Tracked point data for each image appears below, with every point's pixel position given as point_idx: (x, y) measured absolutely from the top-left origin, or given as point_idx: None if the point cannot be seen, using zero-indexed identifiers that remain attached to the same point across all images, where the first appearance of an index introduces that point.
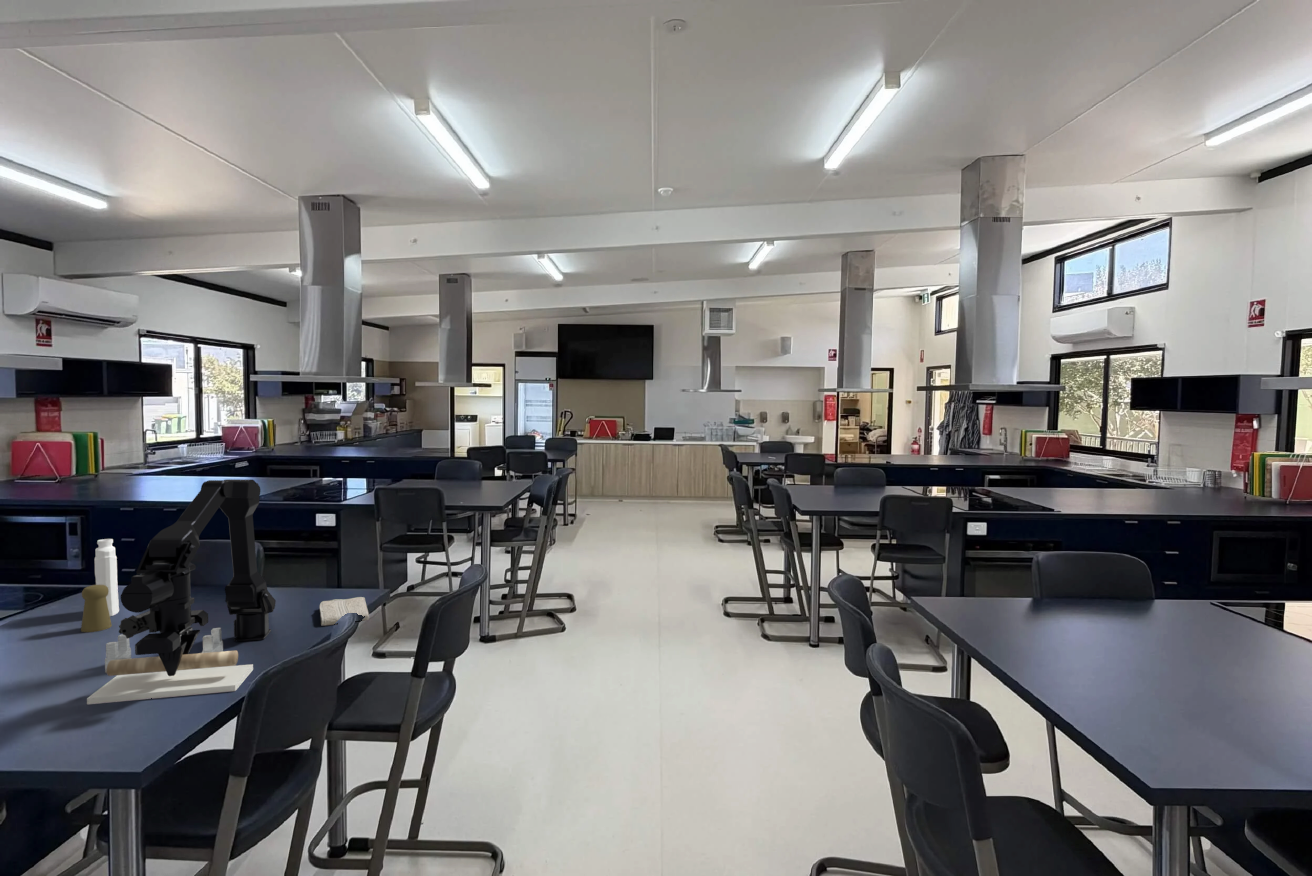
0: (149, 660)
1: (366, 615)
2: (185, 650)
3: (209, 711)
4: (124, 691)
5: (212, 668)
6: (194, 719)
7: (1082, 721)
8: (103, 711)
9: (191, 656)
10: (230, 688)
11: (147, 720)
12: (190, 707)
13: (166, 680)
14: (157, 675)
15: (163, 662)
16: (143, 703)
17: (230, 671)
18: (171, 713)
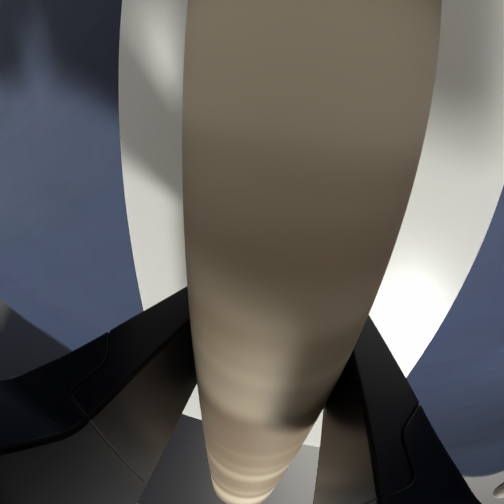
0: (202, 181)
1: (494, 496)
2: (324, 470)
3: (66, 336)
4: (176, 3)
5: None
6: (34, 310)
7: None
8: (61, 18)
9: (215, 453)
10: None
11: (11, 215)
12: (76, 305)
13: None
14: (452, 139)
15: (111, 336)
16: (99, 148)
17: None
18: (43, 265)
